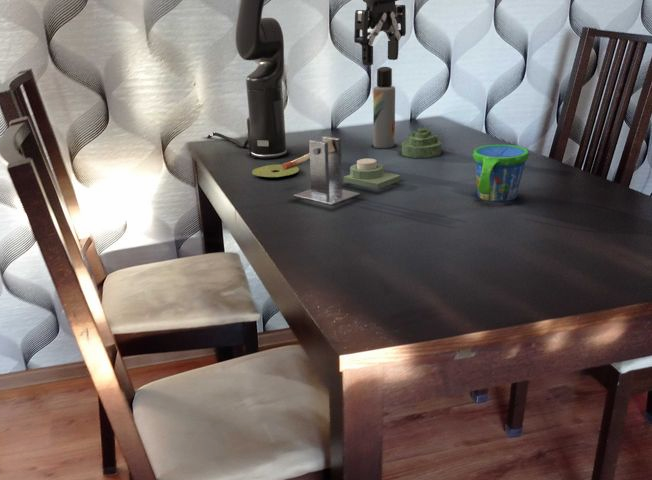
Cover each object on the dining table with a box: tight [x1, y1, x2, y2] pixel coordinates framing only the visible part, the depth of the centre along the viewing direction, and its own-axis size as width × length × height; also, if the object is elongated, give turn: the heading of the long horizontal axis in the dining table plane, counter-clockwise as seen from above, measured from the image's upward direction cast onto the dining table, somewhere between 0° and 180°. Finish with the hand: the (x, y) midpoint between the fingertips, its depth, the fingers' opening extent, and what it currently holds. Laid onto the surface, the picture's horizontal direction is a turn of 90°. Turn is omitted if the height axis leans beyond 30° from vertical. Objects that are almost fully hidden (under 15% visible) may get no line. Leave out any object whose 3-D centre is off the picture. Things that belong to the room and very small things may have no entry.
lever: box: [282, 140, 335, 170], centre depth 149 cm, size 13×5×2 cm
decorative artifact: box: [401, 124, 442, 159], centre depth 179 cm, size 10×7×10 cm
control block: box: [343, 163, 402, 190], centre depth 157 cm, size 10×8×4 cm
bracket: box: [293, 135, 361, 207], centre depth 147 cm, size 11×9×13 cm
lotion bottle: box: [372, 66, 396, 149], centre depth 185 cm, size 6×6×20 cm
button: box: [356, 158, 378, 170], centre depth 157 cm, size 4×4×2 cm
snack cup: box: [472, 144, 530, 202], centre depth 142 cm, size 16×10×10 cm
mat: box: [251, 163, 300, 178], centre depth 167 cm, size 11×11×2 cm
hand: (380, 62), depth 147 cm, fingers open, 8 cm apart
